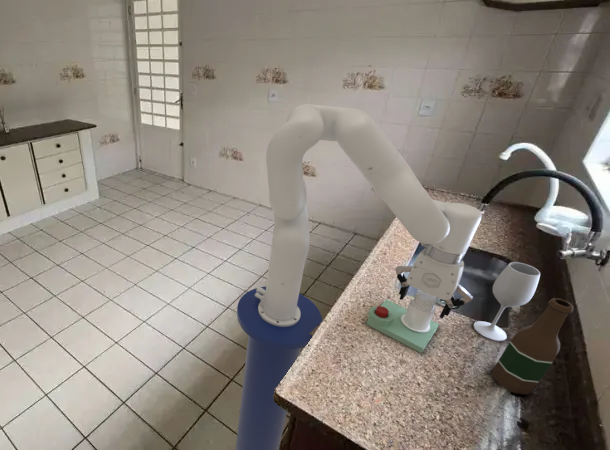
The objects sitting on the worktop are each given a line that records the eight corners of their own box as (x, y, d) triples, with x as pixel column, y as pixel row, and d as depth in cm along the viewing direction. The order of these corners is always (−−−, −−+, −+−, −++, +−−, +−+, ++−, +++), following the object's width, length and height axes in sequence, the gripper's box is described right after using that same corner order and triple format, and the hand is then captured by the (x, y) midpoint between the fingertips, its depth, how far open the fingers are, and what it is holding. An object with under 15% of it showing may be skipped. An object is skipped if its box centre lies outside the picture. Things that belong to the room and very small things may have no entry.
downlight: (421, 338, 92) (434, 309, 87) (394, 322, 97) (405, 294, 92) (435, 325, 96) (448, 296, 91) (408, 310, 101) (419, 283, 96)
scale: (362, 322, 99) (365, 313, 98) (381, 301, 107) (384, 292, 105) (421, 353, 90) (425, 343, 88) (437, 328, 97) (441, 319, 96)
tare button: (373, 314, 98) (374, 309, 97) (377, 309, 100) (379, 304, 99) (384, 319, 96) (386, 315, 95) (388, 314, 98) (390, 310, 97)
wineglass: (487, 342, 93) (523, 278, 83) (466, 321, 99) (496, 260, 90) (514, 341, 93) (554, 277, 83) (491, 320, 100) (525, 259, 90)
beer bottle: (536, 402, 78) (596, 321, 66) (492, 386, 81) (542, 307, 70) (529, 376, 83) (582, 298, 72) (488, 362, 87) (533, 286, 76)
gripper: (400, 244, 89) (382, 296, 97) (484, 274, 77) (455, 331, 86) (411, 234, 93) (393, 285, 101) (491, 261, 82) (463, 316, 90)
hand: (421, 306), depth 93 cm, fingers open, 9 cm apart
